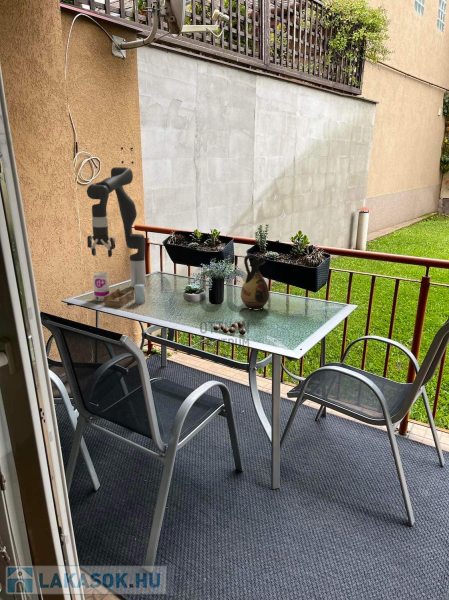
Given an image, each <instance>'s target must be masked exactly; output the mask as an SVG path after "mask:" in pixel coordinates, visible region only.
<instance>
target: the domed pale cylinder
mask: <svg viewBox="0 0 449 600" xmlns="http://www.w3.org/2000/svg"><path fill="white" fill-rule="evenodd" d="M145 289H146V288H145V286H144V284H136V285H134V304H136V305H142V304H145V303H146V294H145V293H146V291H145Z"/></svg>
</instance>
